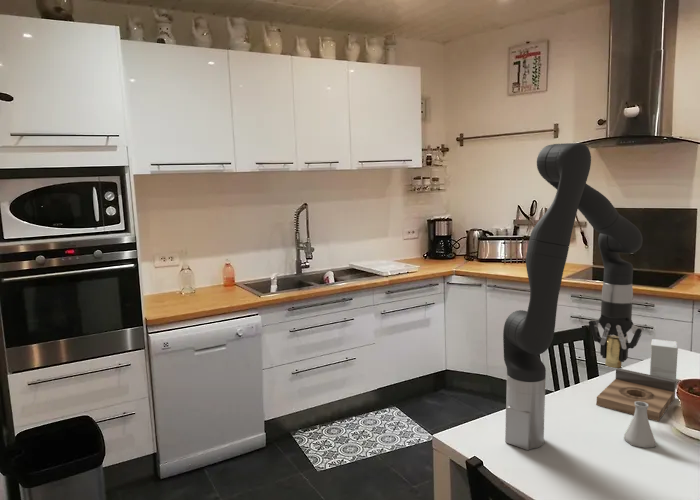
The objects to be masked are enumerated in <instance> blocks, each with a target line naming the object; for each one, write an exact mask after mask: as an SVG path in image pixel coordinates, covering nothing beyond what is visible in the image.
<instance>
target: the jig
mask: <svg viewBox="0 0 700 500" xmlns="http://www.w3.org/2000/svg"><path fill="white" fill-rule="evenodd" d="M676 384H677V379H676V380H672V379H667V378H663V377H658V376H653V375H650V374H647V373H643V372H638V371H633V370H629V369H624V368H621V367H620V368H615V378H614V379H613V381H612V382H610V383H609V384H608V385H607V386H606V387H605V388H604V389H603V390H602V391H601V392H600V393H599V394H597V396H596V404H595V405H596V406H599V407H603V408H606V409H610V410H615V411H617V412H621V413H625V414H629V415H633V416H634V413H635V409H636V406H635V405H634V404H635V402H636V401H641V402H645V403H647V404H649V407H648V408H647V416H648V420H652V421H656V422H659V421H660V420H661V418H662V417H663V416H664V414H665V413H666V412H667V410H668V409H669V407H670V406H671V404H672V403H673V401H674V400H675V399H676V389H677V388H676V386H677V385H676ZM671 402H672V403H671ZM669 405H670V406H669Z"/></svg>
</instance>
